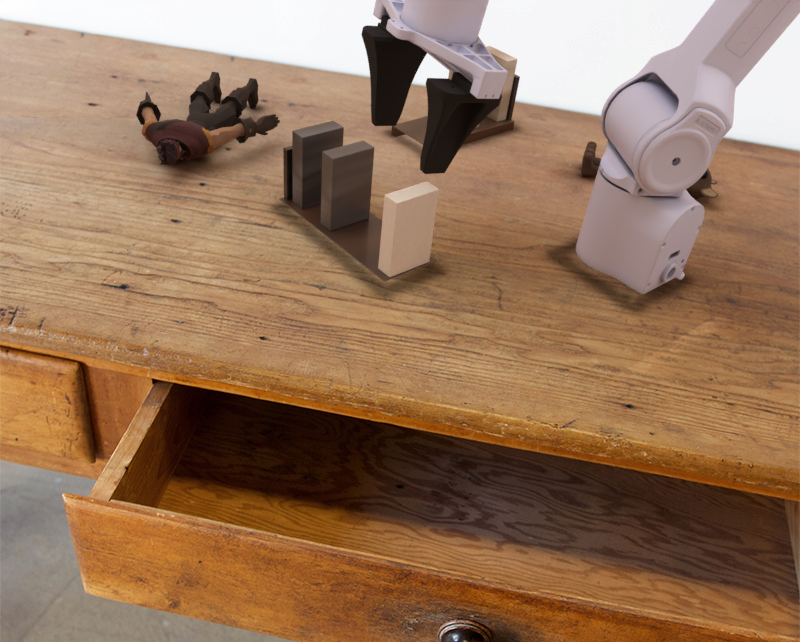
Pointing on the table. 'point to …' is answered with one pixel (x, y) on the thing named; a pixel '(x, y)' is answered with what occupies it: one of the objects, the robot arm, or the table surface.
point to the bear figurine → (696, 190)
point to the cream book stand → (491, 123)
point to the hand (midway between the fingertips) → (407, 147)
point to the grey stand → (335, 191)
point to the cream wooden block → (407, 228)
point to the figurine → (204, 122)
